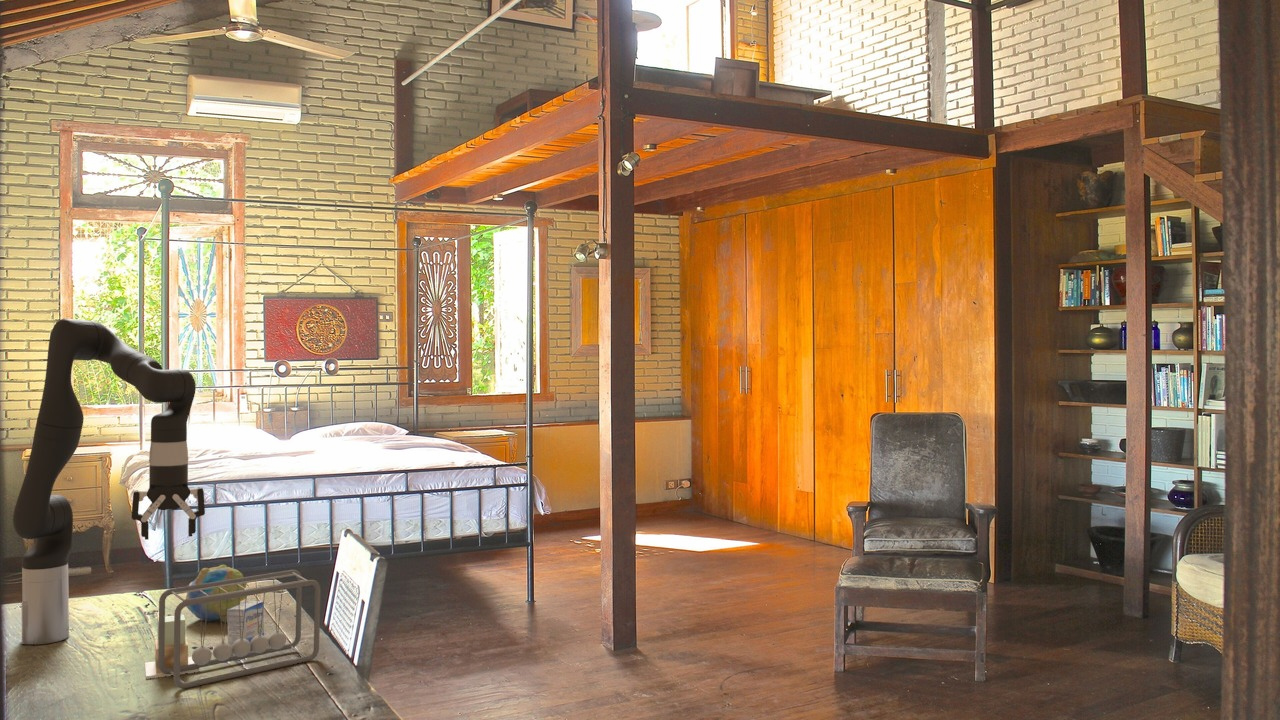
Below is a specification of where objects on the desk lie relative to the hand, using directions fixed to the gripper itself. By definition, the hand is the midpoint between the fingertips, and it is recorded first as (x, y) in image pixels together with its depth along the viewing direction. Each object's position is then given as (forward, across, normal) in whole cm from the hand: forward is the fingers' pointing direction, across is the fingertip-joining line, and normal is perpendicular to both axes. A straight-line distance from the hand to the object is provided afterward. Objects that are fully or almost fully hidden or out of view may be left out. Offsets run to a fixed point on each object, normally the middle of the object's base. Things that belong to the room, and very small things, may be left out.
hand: (168, 537), depth 218 cm
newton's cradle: (+26, -14, +13) cm, 32 cm away
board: (+27, -1, +6) cm, 27 cm away
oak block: (+26, 0, +6) cm, 27 cm away
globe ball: (+27, -13, -31) cm, 43 cm away
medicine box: (+27, -16, -7) cm, 32 cm away
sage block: (+21, 0, +6) cm, 22 cm away
